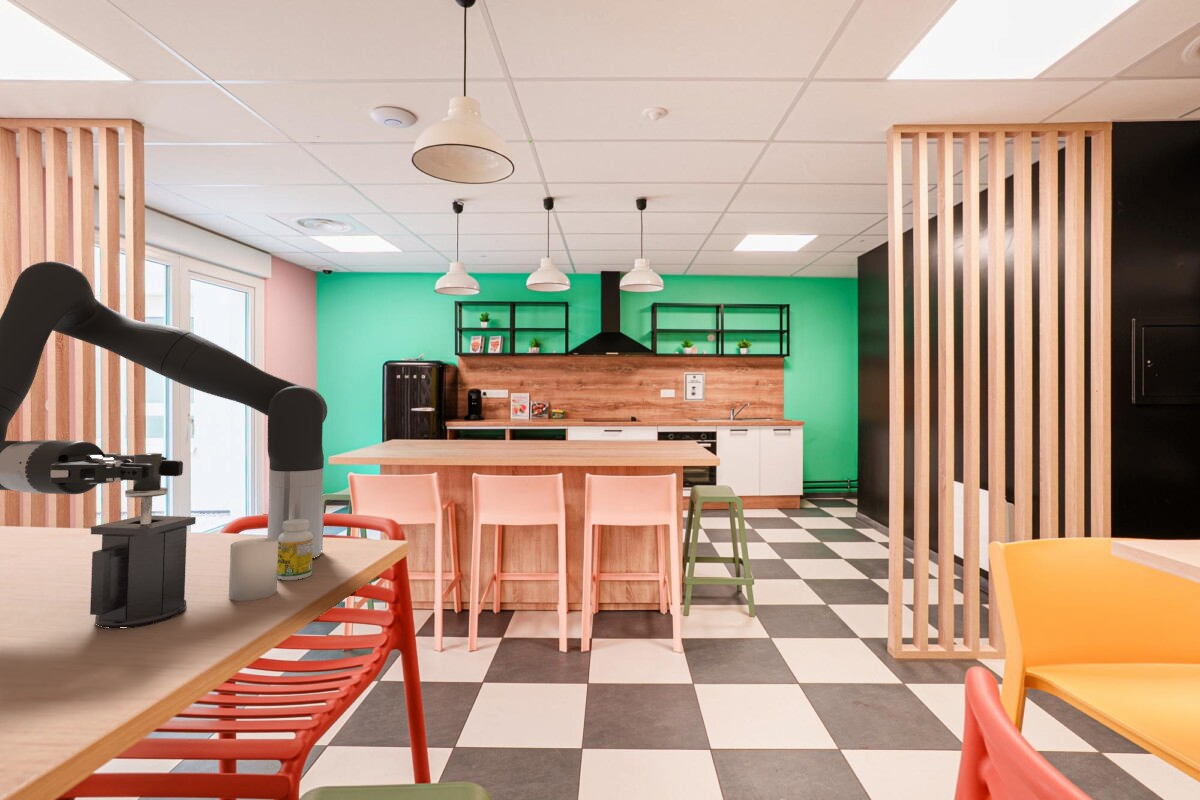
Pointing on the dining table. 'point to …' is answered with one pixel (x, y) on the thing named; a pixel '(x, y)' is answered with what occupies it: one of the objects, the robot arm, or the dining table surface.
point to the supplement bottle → (295, 550)
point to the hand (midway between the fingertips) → (166, 470)
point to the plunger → (147, 485)
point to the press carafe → (139, 571)
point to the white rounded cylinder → (253, 569)
